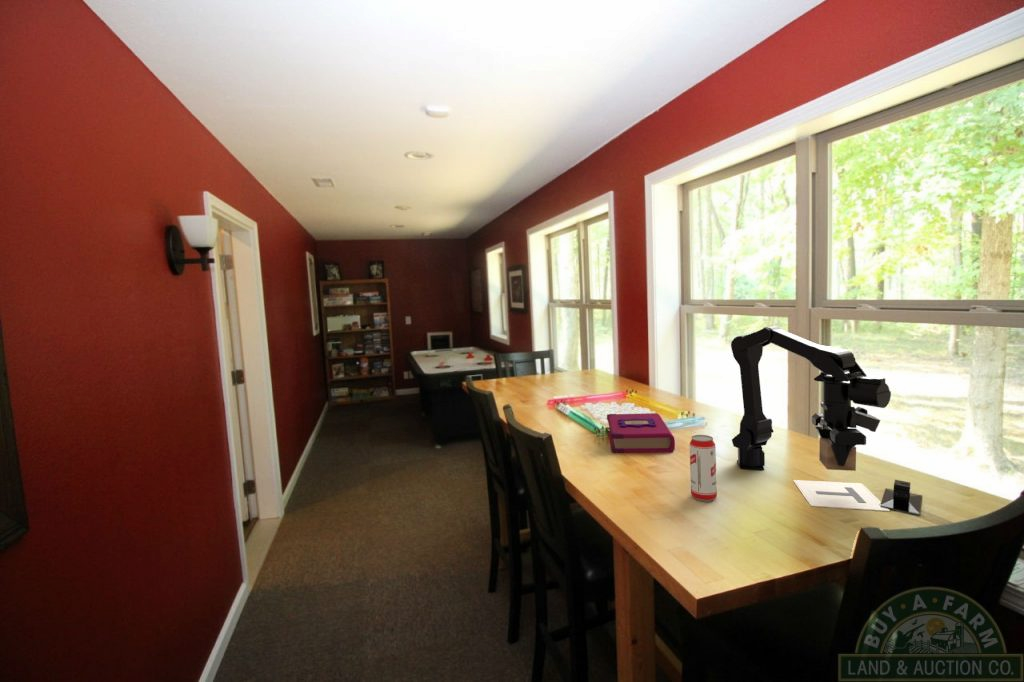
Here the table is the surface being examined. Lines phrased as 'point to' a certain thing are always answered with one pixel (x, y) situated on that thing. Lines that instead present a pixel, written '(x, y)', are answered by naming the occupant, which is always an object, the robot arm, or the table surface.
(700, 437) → the beer can
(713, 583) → the table surface
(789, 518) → the table surface
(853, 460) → the cube
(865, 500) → the letter tile
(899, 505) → the black stand
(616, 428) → the book
